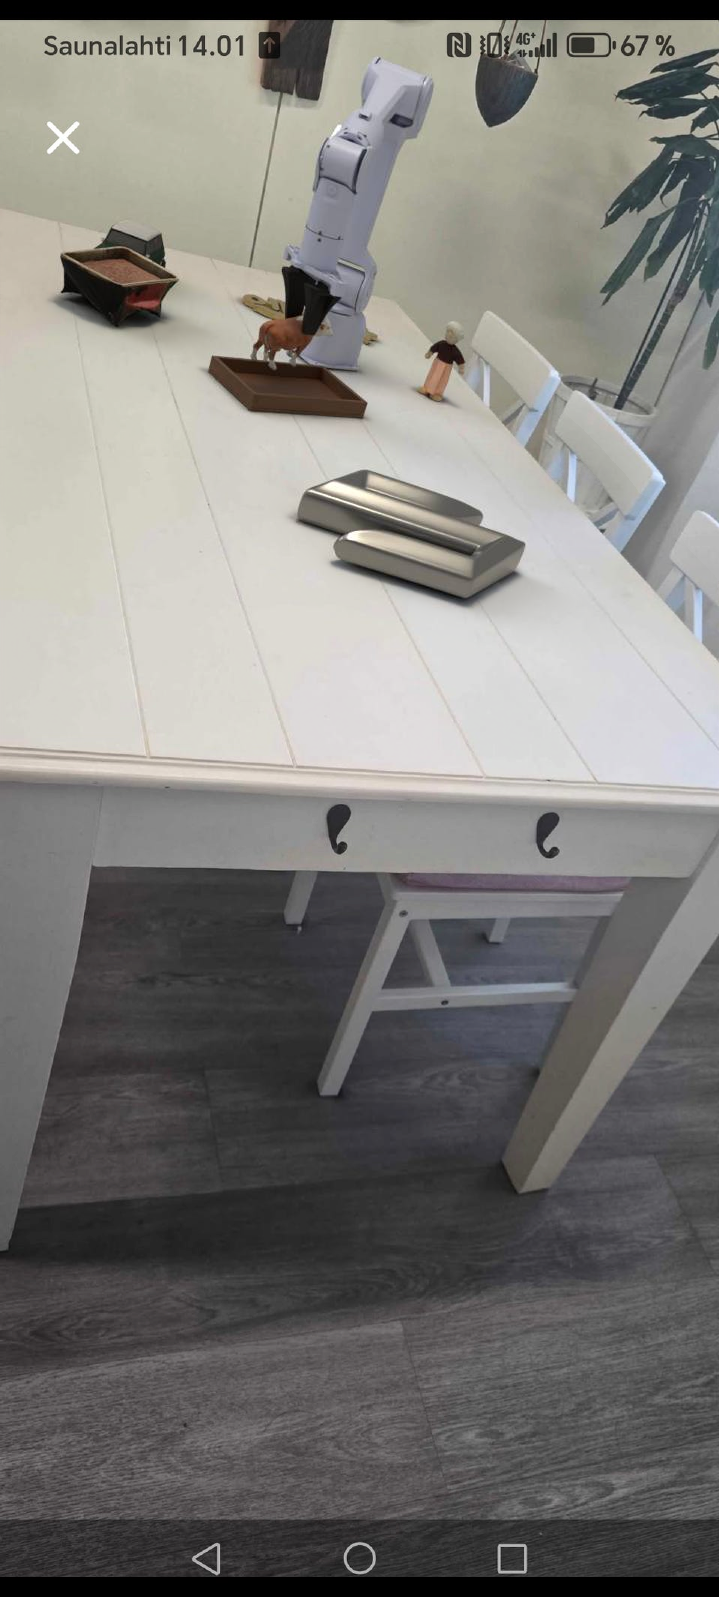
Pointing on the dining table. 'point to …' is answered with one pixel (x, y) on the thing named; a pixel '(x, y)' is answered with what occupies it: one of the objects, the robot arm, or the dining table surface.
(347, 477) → the emblem
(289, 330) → the bull figurine
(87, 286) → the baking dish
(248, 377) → the walnut tray
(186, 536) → the dining table surface
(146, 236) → the miniature car
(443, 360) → the grandmother figurine
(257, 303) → the lettering
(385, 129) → the robot arm
